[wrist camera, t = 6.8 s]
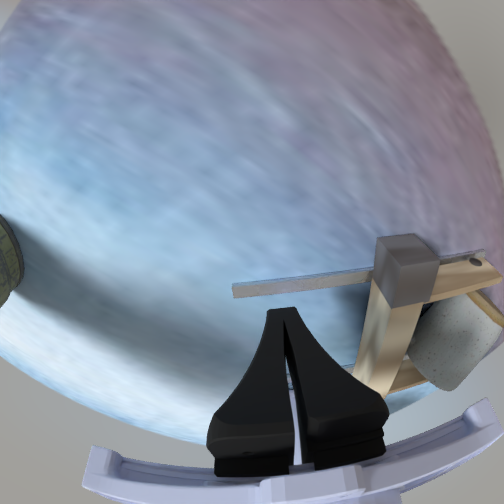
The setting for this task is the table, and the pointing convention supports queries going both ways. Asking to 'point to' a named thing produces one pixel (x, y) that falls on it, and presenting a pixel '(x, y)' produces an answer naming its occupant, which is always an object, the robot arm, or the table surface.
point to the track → (327, 284)
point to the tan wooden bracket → (407, 306)
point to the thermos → (9, 261)
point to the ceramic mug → (454, 338)
